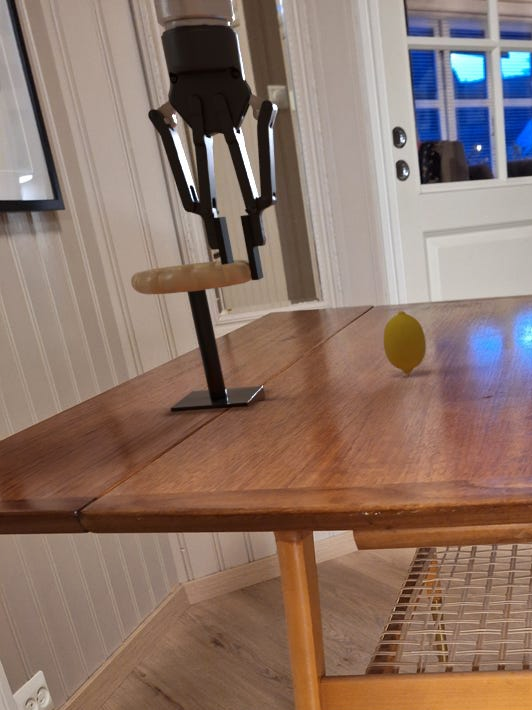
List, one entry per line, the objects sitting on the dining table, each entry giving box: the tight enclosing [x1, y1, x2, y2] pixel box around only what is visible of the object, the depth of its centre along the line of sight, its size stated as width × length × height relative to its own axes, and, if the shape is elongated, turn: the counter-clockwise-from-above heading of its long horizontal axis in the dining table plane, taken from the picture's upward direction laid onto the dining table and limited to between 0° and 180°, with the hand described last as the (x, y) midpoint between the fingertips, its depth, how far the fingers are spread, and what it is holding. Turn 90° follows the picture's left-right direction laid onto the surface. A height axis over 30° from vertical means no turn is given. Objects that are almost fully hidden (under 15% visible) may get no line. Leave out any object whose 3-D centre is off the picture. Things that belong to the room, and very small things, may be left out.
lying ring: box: [130, 259, 253, 296], centre depth 98 cm, size 13×13×2 cm
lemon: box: [383, 310, 427, 375], centre depth 114 cm, size 6×6×8 cm
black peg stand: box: [170, 289, 266, 413], centre depth 101 cm, size 9×9×14 cm
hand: (244, 279), depth 98 cm, fingers closed on lying ring, 2 cm apart
